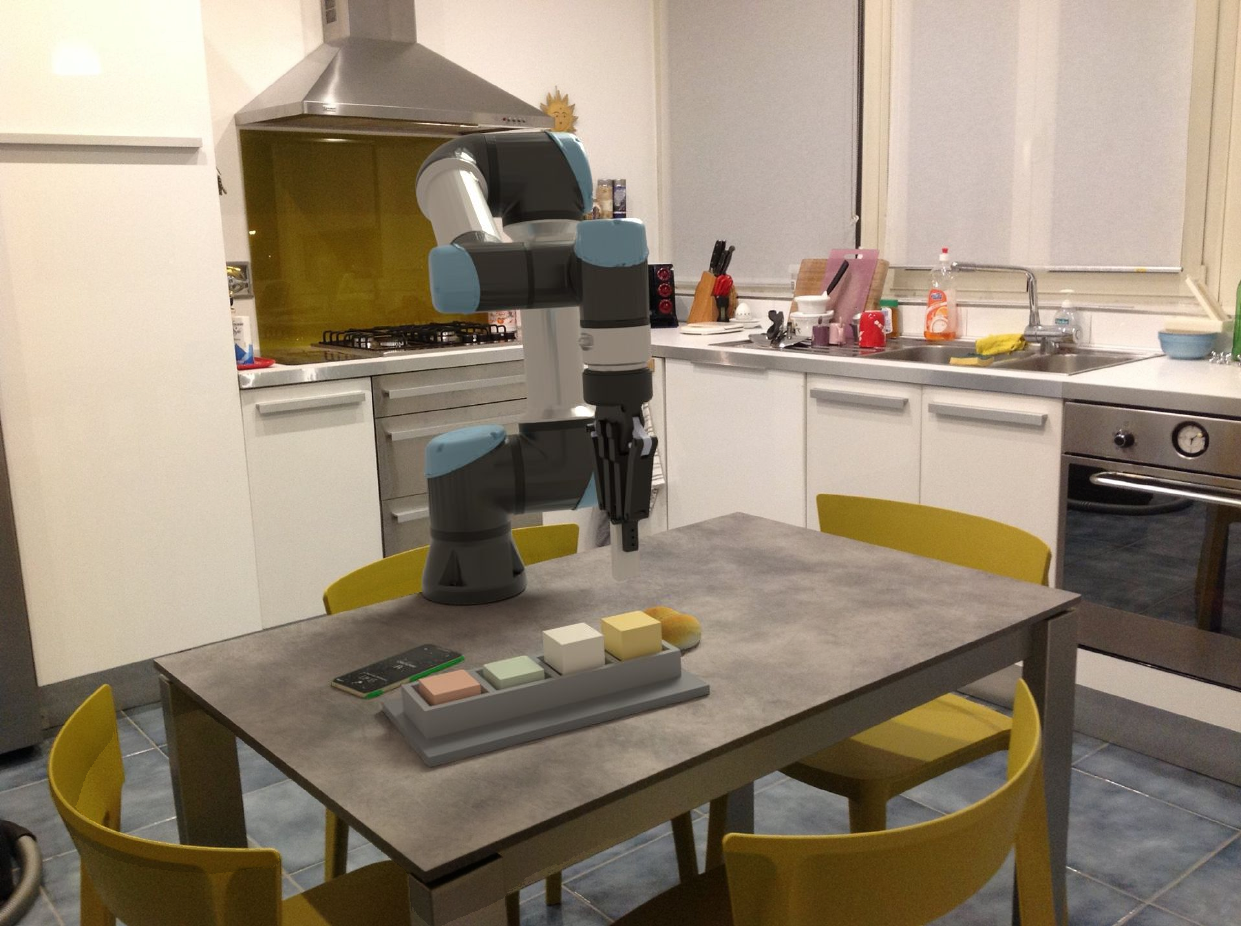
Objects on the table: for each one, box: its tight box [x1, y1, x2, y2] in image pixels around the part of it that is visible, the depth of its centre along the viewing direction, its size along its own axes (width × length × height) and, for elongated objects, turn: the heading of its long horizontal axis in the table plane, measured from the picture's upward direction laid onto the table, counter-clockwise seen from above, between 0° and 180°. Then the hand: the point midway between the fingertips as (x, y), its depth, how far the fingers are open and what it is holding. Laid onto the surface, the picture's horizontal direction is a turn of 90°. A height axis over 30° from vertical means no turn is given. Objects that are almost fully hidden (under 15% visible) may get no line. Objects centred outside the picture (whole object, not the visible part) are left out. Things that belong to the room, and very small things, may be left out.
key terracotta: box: [418, 668, 481, 707], centre depth 118 cm, size 5×5×4 cm
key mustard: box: [600, 610, 662, 661], centre depth 127 cm, size 5×5×4 cm
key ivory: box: [542, 622, 605, 675], centre depth 124 cm, size 5×5×4 cm
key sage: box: [482, 654, 545, 691], centre depth 121 cm, size 5×5×4 cm
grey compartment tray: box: [381, 640, 711, 768], centre depth 123 cm, size 16×32×4 cm, turn 118°
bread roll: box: [642, 605, 703, 651], centre depth 140 cm, size 8×9×4 cm
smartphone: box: [330, 643, 465, 699], centre depth 134 cm, size 8×1×15 cm
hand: (626, 577), depth 126 cm, fingers closed
